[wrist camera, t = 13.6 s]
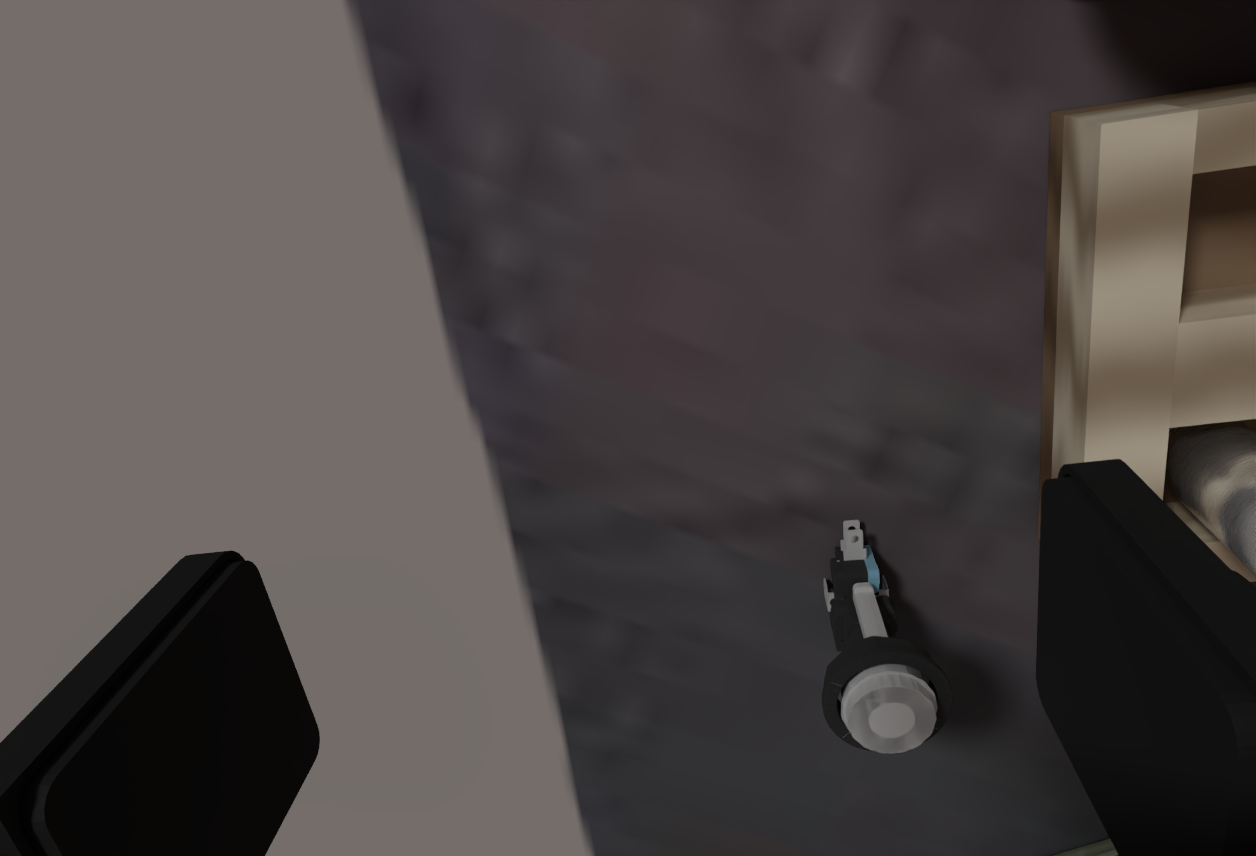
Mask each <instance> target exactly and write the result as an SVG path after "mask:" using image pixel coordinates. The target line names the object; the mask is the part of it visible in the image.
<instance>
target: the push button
mask: <svg viewBox="0 0 1256 856" xmlns="http://www.w3.org/2000/svg"><path fill="white" fill-rule="evenodd" d="M850 526H854V527H855V528H856V530H848V528H849V527H850ZM843 534H844V540H841V547H836V548H835V554H836V558H831V559H830V564H831V574H832V581H833V588H834V592H832V593H830V592H828V587H827V583H826V579H824V595H825V600H826V604H827V608H828V611H829V612H830V620H831V626H832V630H833V635H834V639H835V644H836V648H837V651H842V652H841V653H840V654H839V655H838V656H837V657H836V658H835V659H834V660H833V661H832V662H831V663H830V664H829V665H828V666H827V670H826V674H825V679H824V688H823V692H822V707H823V712H824V716H825V719H826V721H827V723H828V725H829V727H830V728H831V729H832V731H833V732H834V733H835V734H836V735H837V736H838V737H839V738H841V739H842V740H844V741H845V742H847V743H848V744H850V745H852V746H855V747H857V748H860V749H864V750H868V751H874V752H880V753H891V754H893V753H902V752H904V751H907V750H910V749H914V748H915V747H917V746H919V745H920V744H922V743H923V742H925V741H927V740H928V739H930V738H931V737H932V736H934V735H935V734H936V733H937V732H938V731H939V730H940V729H941V728H942V727H943V725H944V724H945V722H946V721H947V719H948V717H949V715H950V712H951V708H952V702H953V697H952V691H951V687H950V684H949V682H948V679H947V677H946V675H945V673H944V672H943V670H942V669H941V668H940V667H939V666H938V665H937V664H936V663H935V662H934V661H933V660H931V658H930V655H929V653H928V651H926V650H925V649H924V648H922V647H921V646H919V645H917V644H916V643H914V642H913V641H911V640H907V639H898V638H893V637H895V635H896V632H897V629H898V619H897V616H896V613H895V610H894V607H893V604H892V602H891V600H890V598H889V588H888V585H887V582H886V579H885V576H884V575H882V589H881V590H879V584H880V576H879V569H878V566H877V564H876V562H875V559H874V556H873V553H872V550H871V547H870V545H863V531H862V530H861V529H860V521H859V520H847V521H844V522H843ZM921 672H922V673H923V674H924V675H926V676H927V677H928V678H929V679H930V680H929V685H927V684H926V682H925V681H924V680H923V678H922V675H921ZM840 690H841V694H842V703H841V702H840V701H839V700H838V699H837V698H838V695H839V692H840Z"/></svg>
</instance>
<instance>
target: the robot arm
mask: <svg viewBox="0 0 1256 856" xmlns="http://www.w3.org/2000/svg"><path fill="white" fill-rule="evenodd" d="M1036 680H1037V687H1038V692H1039V696H1040V699H1041V702H1042V705H1043V707H1044V710H1045V712H1046V714H1047V715H1048V717H1049V719H1050V721H1051V723H1052V725H1053V727H1054V729H1055V731H1056V733H1057V735H1058V737H1059V739H1060V741H1061V743H1062V745H1063V747H1064V749H1065V751H1066V753H1067V755H1068V757H1069V759H1070V761H1071V763H1072V765H1073V767H1074V769H1075V770H1076V772H1077V774H1078V776H1079V778H1080V780H1081V782H1082V784H1083V786H1084V788H1085V790H1086V792H1087V794H1088V796H1089V798H1090V800H1091V802H1092V804H1093V806H1094V808H1095V810H1096V812H1097V814H1098V816H1099V818H1100V820H1101V822H1102V824H1103V826H1104V827H1105V829H1106V831H1107V833H1108V835H1109V837H1110V839H1111V841H1112V843H1113V845H1114V847H1115V849H1116V851H1117V853H1118V855H1119V856H1256V588H1255V587H1254V586H1253V585H1252V584H1251V583H1250V582H1249V581H1248V580H1247V579H1246V578H1245V577H1243V576H1242V575H1241V574H1239V573H1238V572H1236V571H1233V570H1231V569H1230V568H1229V567H1228V566H1227V565H1226V564H1225V563H1224V562H1223V561H1222V560H1221V559H1220V558H1219V557H1218V556H1217V555H1216V554H1215V553H1214V552H1213V551H1212V550H1211V549H1210V548H1209V547H1208V546H1207V545H1206V544H1205V543H1204V542H1203V541H1202V540H1201V539H1200V538H1199V537H1198V536H1197V535H1196V534H1195V533H1194V532H1193V531H1192V530H1191V529H1190V528H1189V527H1188V526H1187V525H1186V524H1185V523H1184V522H1183V521H1182V520H1181V519H1180V518H1179V517H1178V516H1177V515H1176V514H1175V513H1174V512H1173V511H1172V509H1171V508H1170V507H1169V506H1168V505H1167V504H1166V503H1165V502H1164V501H1163V500H1162V499H1161V498H1160V497H1159V496H1158V495H1157V494H1156V493H1155V492H1154V491H1153V490H1152V489H1151V488H1150V487H1149V486H1148V485H1147V484H1146V483H1145V482H1144V481H1143V480H1142V479H1141V478H1140V477H1139V476H1138V475H1137V474H1136V473H1135V472H1134V471H1133V470H1132V469H1131V468H1130V467H1129V466H1128V465H1127V464H1126V463H1125V462H1124V461H1122V460H1121V459H1112V460H1102V461H1092V462H1083V463H1073V464H1064V465H1063V466H1062V467H1061V468H1060V471H1059V474H1058V478H1054V479H1046V480H1045V481H1044V483H1043V486H1042V493H1041V523H1040V557H1039V590H1038V624H1037V657H1036ZM319 742H320V737H319V730H318V726H317V723H316V721H315V718H314V715H313V713H312V710H311V707H310V705H309V702H308V700H307V697H306V694H305V691H304V689H303V686H302V684H301V681H300V678H299V675H298V673H297V670H296V668H295V665H294V662H293V660H292V657H291V654H290V652H289V649H288V647H287V644H286V641H285V639H284V636H283V633H282V631H281V628H280V625H279V623H278V620H277V618H276V615H275V612H274V610H273V607H272V604H271V602H270V599H269V597H268V594H267V591H266V589H265V586H264V584H263V581H262V578H261V576H260V573H259V571H258V569H257V567H256V566H255V565H254V564H253V563H252V562H250V561H245V560H244V558H243V557H242V556H241V555H240V554H239V553H237V552H235V551H224V552H215V553H204V554H195V555H188V556H185V557H184V558H183V559H181V560H180V561H179V562H178V563H177V564H176V565H175V566H174V567H173V568H172V569H171V570H170V571H169V572H168V573H167V574H166V575H165V576H164V577H163V578H162V579H161V580H160V581H159V582H158V583H157V584H156V585H155V586H154V587H153V588H152V589H151V590H150V591H149V592H148V593H147V594H146V595H145V596H144V597H143V598H142V599H141V600H140V601H139V602H138V603H137V604H136V605H135V606H134V607H133V609H131V610H130V612H129V613H128V614H127V615H126V616H125V617H124V618H123V619H122V620H121V621H120V622H119V623H118V624H117V625H116V626H115V627H114V628H113V629H112V630H111V631H110V632H109V633H108V634H107V635H106V636H105V637H104V638H103V639H102V640H101V641H100V642H99V643H98V644H97V645H96V646H95V647H94V648H93V649H92V650H91V651H90V652H89V653H88V654H87V655H86V656H85V657H84V658H83V659H82V660H81V661H80V662H79V663H78V665H76V666H75V668H74V669H73V670H72V671H71V672H70V673H69V674H68V675H67V676H66V677H65V678H64V679H63V680H62V681H61V682H60V683H59V684H58V685H57V686H56V687H55V688H54V689H53V690H52V691H51V692H50V693H49V694H48V695H47V696H46V697H45V698H44V699H43V700H42V701H41V702H40V703H39V704H38V705H37V706H36V707H35V708H34V709H33V710H32V711H31V712H30V713H29V715H27V716H26V718H25V719H24V720H22V721H21V722H20V723H19V725H18V726H17V727H16V728H15V729H14V730H13V731H12V732H11V733H10V734H9V735H8V736H7V737H6V738H5V739H4V740H3V741H2V742H1V743H0V856H265V854H266V853H267V851H268V849H269V847H270V845H271V843H272V841H273V839H274V837H275V835H276V834H277V832H278V830H279V828H280V826H281V824H282V822H283V820H284V818H285V816H286V815H287V813H288V811H289V809H290V807H291V805H292V803H293V801H294V799H295V797H296V796H297V794H298V792H299V790H300V788H301V786H302V784H303V782H304V780H305V778H306V777H307V775H308V773H309V771H310V769H311V767H312V765H313V763H314V761H315V759H316V757H317V754H318V750H319Z"/></svg>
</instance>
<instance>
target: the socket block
mask: <svg viewBox="0 0 1256 856" xmlns="http://www.w3.org/2000/svg"><path fill="white" fill-rule="evenodd" d="M1239 420H1240V421H1242V422H1243V423H1244V424H1246V425H1247V426H1248V427H1250V428H1251V429H1253V430H1254V431H1255V432H1256V81H1252V82H1246V83H1239V84H1233V85H1226V86H1220V87H1213V88H1206V89H1200V90H1193V91H1187V92H1180V93H1174V94H1167V95H1161V96H1154V97H1148V98H1141V99H1135V100H1128V101H1122V102H1115V103H1109V104H1102V105H1095V106H1089V107H1082V108H1076V109H1069V110H1063V111H1056V112H1050V134H1049V168H1048V203H1047V238H1046V273H1045V308H1044V343H1043V377H1042V412H1041V447H1040V482H1039V517H1038V539H1039V540H1040V523H1041V493H1042V486H1043V483H1044V481H1045V480H1046V479H1054V478H1058V474H1059V471H1060V468H1061V467H1062V466H1063V465H1064V464H1073V463H1083V462H1092V461H1102V460H1112V459H1121V460H1122V461H1124V462H1125V463H1126V464H1127V465H1128V466H1129V467H1130V468H1131V469H1132V470H1133V471H1134V472H1135V473H1136V474H1137V475H1138V476H1139V477H1140V478H1141V479H1142V480H1143V481H1144V482H1145V483H1146V484H1147V485H1148V486H1149V487H1150V488H1151V489H1152V490H1153V491H1154V492H1155V493H1156V494H1157V495H1158V496H1159V497H1160V498H1161V499H1162V500H1163V501H1164V502H1165V503H1166V504H1167V505H1168V506H1169V507H1170V508H1171V509H1172V511H1173V512H1174V513H1175V514H1176V515H1177V516H1178V517H1179V518H1180V519H1181V520H1182V521H1183V522H1184V523H1185V524H1186V525H1187V526H1188V527H1189V528H1190V529H1191V530H1192V531H1193V532H1194V533H1195V534H1196V535H1197V536H1198V537H1199V538H1200V539H1201V540H1202V541H1203V542H1204V543H1205V544H1206V545H1207V546H1208V547H1209V548H1210V549H1211V550H1212V551H1213V552H1214V553H1215V554H1216V555H1217V556H1218V557H1219V558H1220V559H1221V560H1222V561H1223V562H1224V563H1225V564H1226V565H1227V566H1228V567H1229V568H1230V569H1231V570H1233V571H1236V572H1238V573H1239V574H1241V575H1242V576H1243V577H1245V578H1246V579H1247V580H1248V581H1249V582H1256V576H1255V575H1254V574H1253V573H1252V572H1251V571H1250V570H1249V569H1248V568H1247V567H1246V566H1245V565H1244V564H1243V563H1242V562H1241V561H1240V560H1239V559H1238V558H1237V557H1236V556H1235V555H1234V554H1233V553H1232V552H1231V551H1230V550H1229V549H1228V548H1227V547H1226V546H1225V545H1224V544H1223V543H1222V542H1221V541H1220V540H1219V539H1218V538H1217V537H1216V536H1215V535H1214V534H1213V533H1212V532H1211V531H1210V530H1209V529H1208V528H1207V527H1206V526H1205V525H1204V524H1203V523H1202V522H1201V521H1200V520H1199V519H1198V518H1197V517H1196V516H1195V515H1194V514H1193V513H1192V512H1191V511H1190V510H1189V509H1188V508H1187V507H1186V506H1185V505H1184V504H1183V503H1182V502H1181V501H1180V500H1179V499H1178V498H1177V497H1176V496H1175V495H1174V494H1173V493H1172V492H1171V491H1170V490H1169V489H1168V488H1167V487H1166V486H1165V485H1164V481H1165V470H1166V459H1167V448H1168V437H1169V428H1174V427H1183V426H1193V425H1202V424H1211V423H1221V422H1230V421H1239Z"/></svg>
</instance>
